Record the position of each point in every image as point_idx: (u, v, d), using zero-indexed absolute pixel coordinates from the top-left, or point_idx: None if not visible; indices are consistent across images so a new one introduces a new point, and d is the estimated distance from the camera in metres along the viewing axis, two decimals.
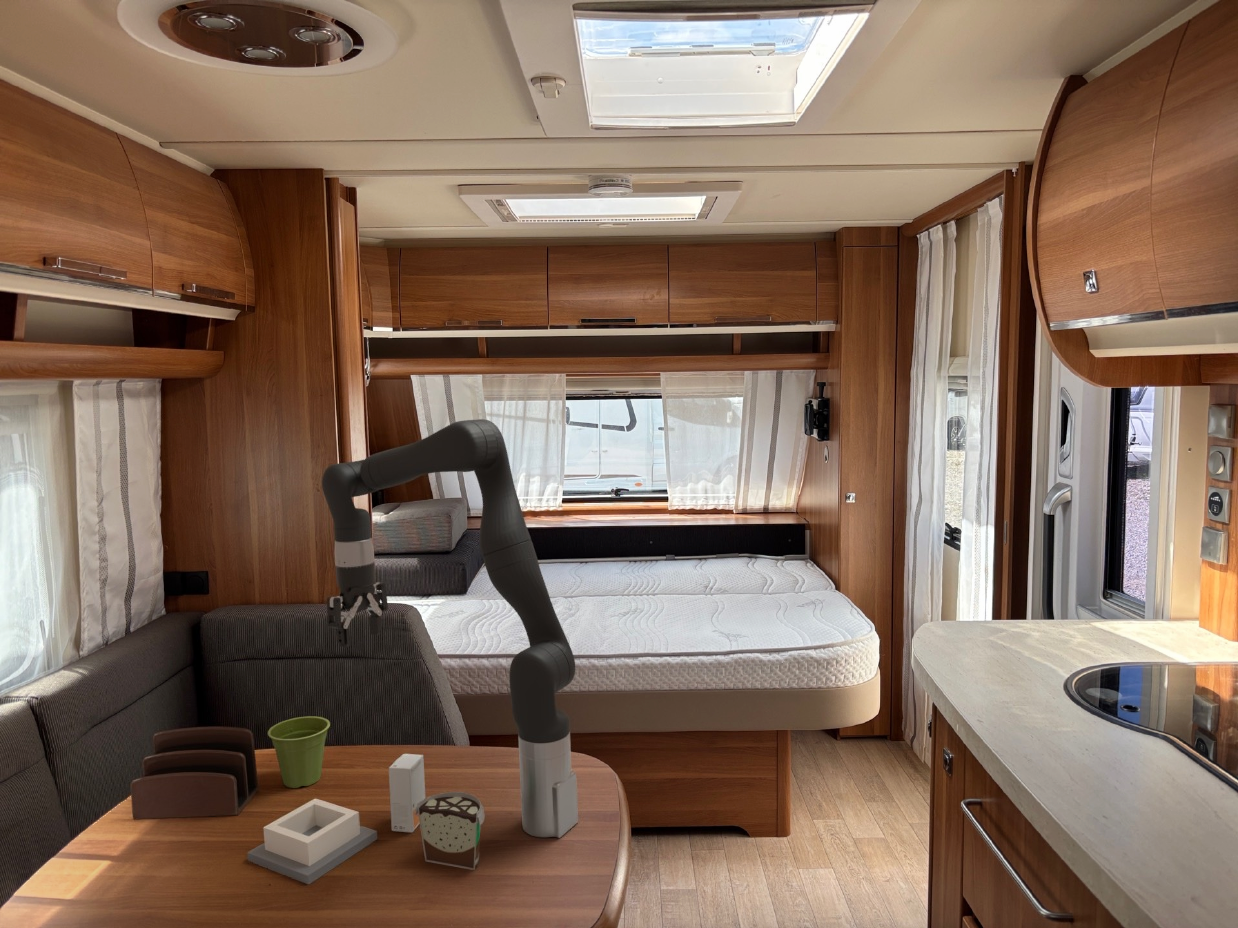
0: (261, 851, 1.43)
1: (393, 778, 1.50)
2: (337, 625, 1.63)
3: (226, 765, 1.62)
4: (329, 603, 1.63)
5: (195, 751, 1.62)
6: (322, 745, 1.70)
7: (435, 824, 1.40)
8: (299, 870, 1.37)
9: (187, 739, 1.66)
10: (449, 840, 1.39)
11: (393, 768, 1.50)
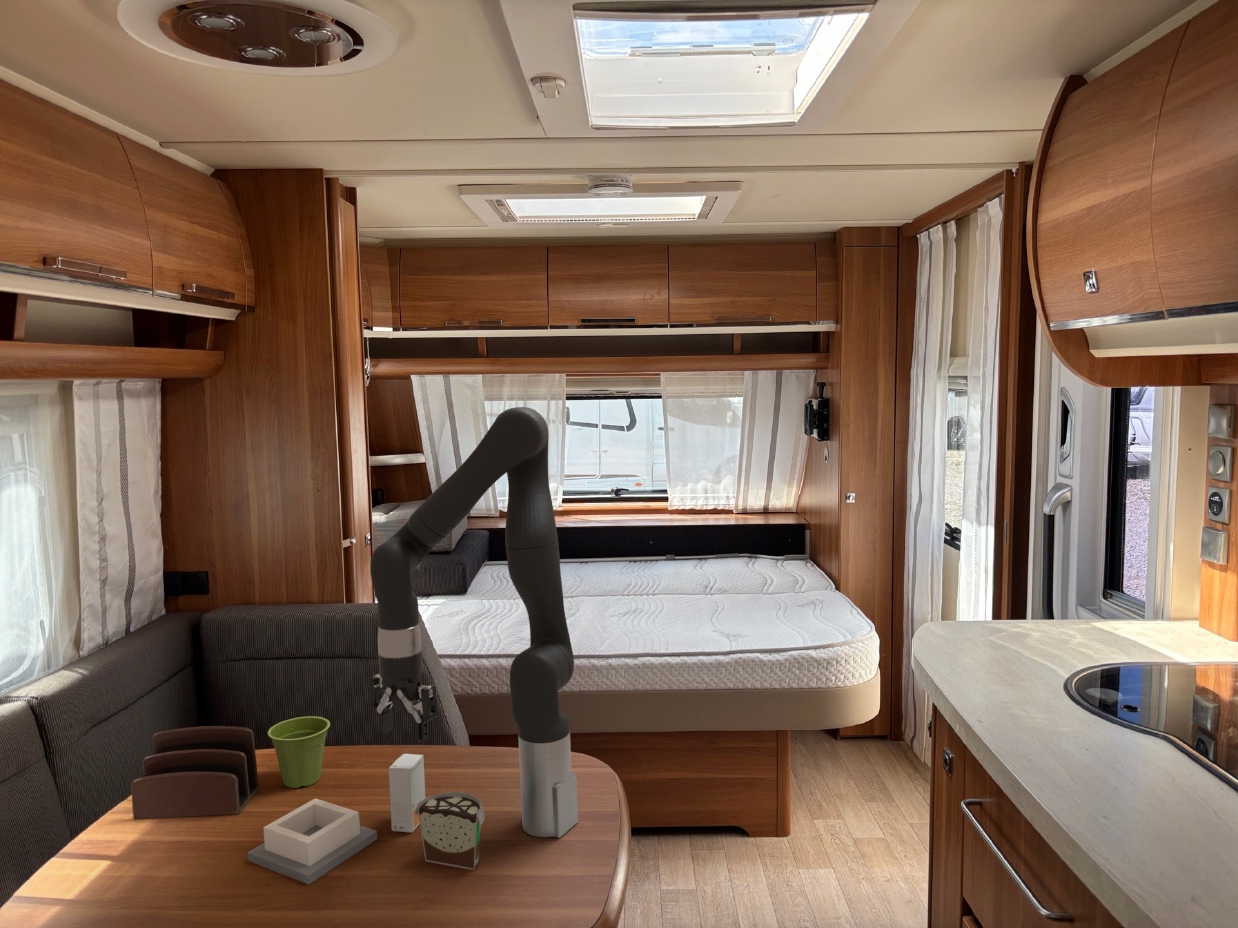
0: (261, 851, 1.43)
1: (393, 778, 1.50)
2: None
3: (227, 764, 1.62)
4: (428, 694, 1.47)
5: (196, 751, 1.62)
6: (322, 745, 1.70)
7: (435, 824, 1.40)
8: (299, 870, 1.37)
9: (187, 738, 1.66)
10: (449, 840, 1.39)
11: (393, 768, 1.50)
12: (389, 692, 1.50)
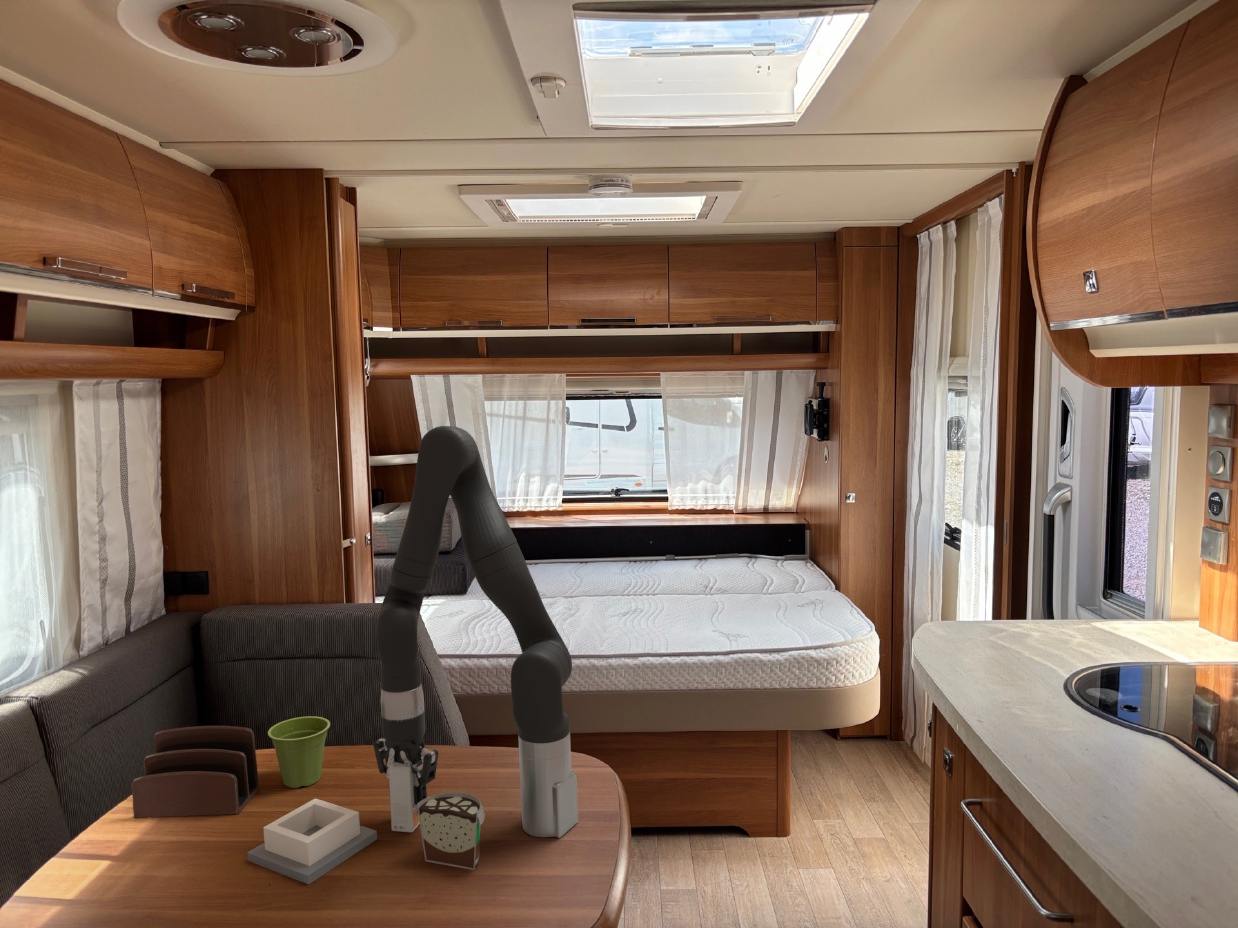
0: (261, 851, 1.43)
1: (393, 778, 1.50)
2: None
3: (227, 764, 1.62)
4: (431, 760, 1.48)
5: (196, 750, 1.62)
6: (322, 745, 1.70)
7: (435, 824, 1.40)
8: (299, 870, 1.37)
9: (188, 738, 1.66)
10: (449, 840, 1.39)
11: (393, 768, 1.50)
12: (393, 752, 1.51)
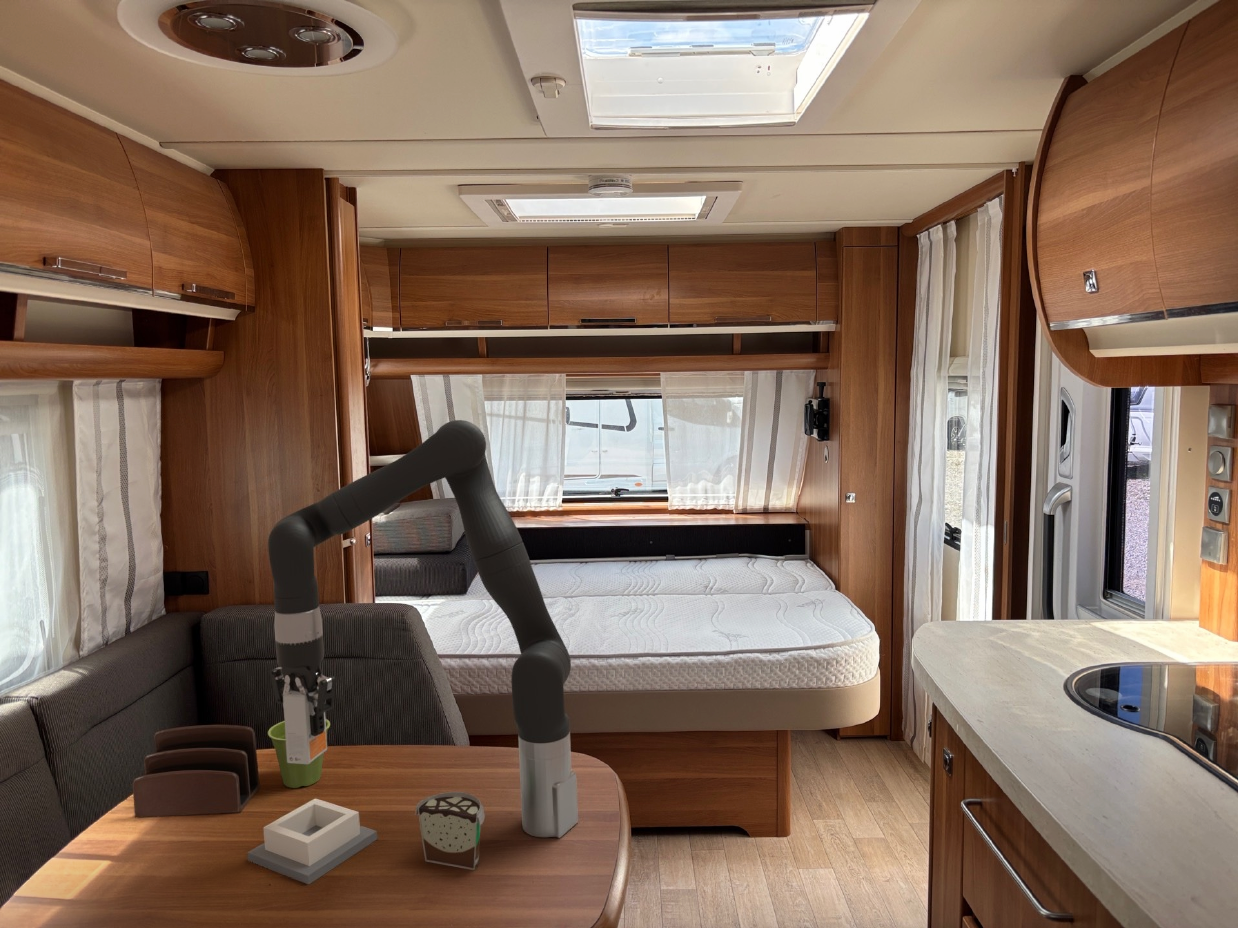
0: (261, 851, 1.43)
1: (288, 706, 1.40)
2: None
3: (228, 763, 1.63)
4: (326, 687, 1.39)
5: (197, 749, 1.62)
6: None
7: (435, 824, 1.40)
8: (299, 870, 1.37)
9: (188, 737, 1.66)
10: (449, 840, 1.39)
11: (287, 696, 1.40)
12: (288, 680, 1.41)
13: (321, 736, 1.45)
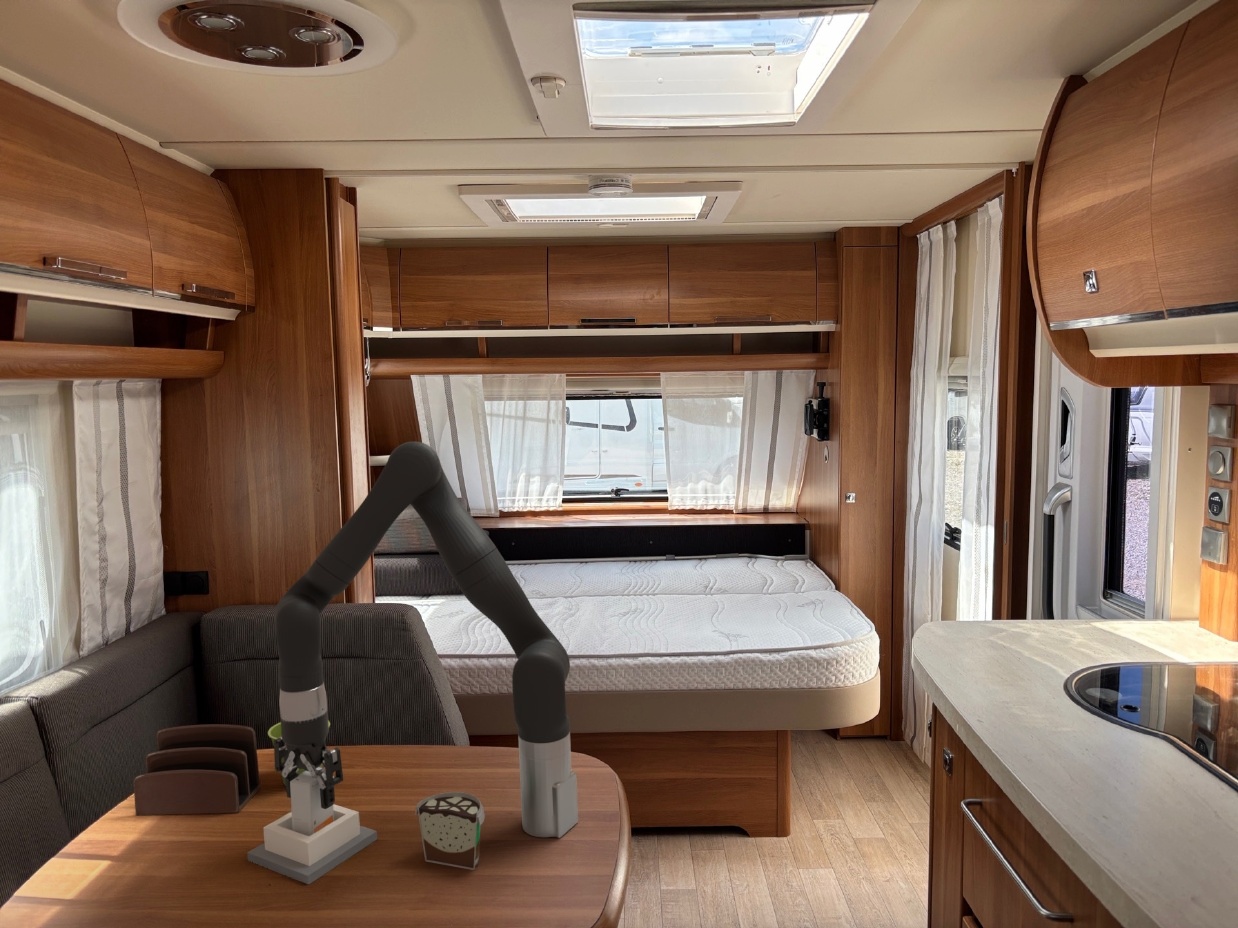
0: (261, 851, 1.43)
1: (294, 792, 1.42)
2: None
3: (228, 763, 1.63)
4: (332, 758, 1.40)
5: (197, 748, 1.63)
6: None
7: (435, 824, 1.40)
8: (299, 870, 1.37)
9: (190, 736, 1.67)
10: (449, 840, 1.39)
11: (294, 782, 1.42)
12: (293, 756, 1.43)
13: (328, 821, 1.46)
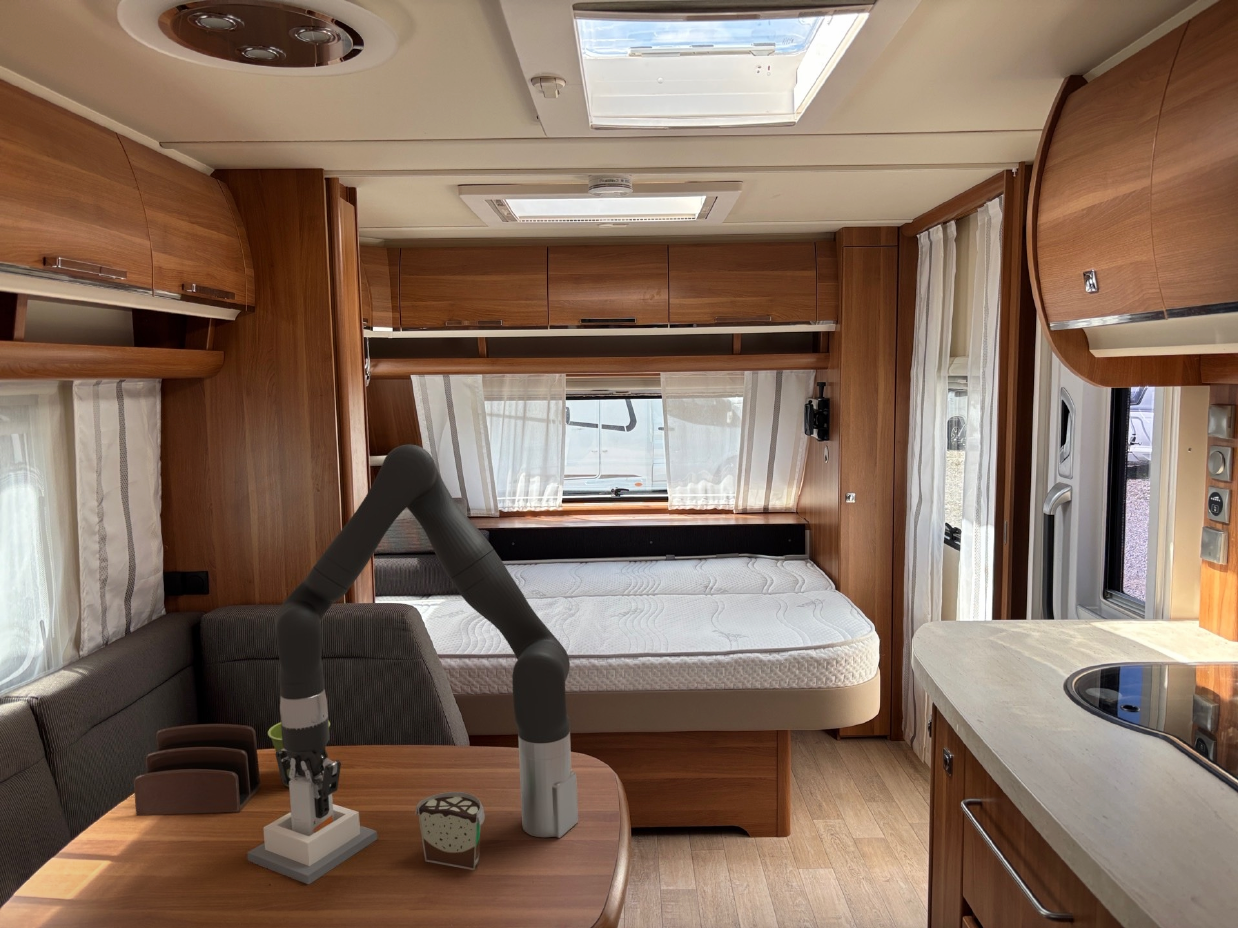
0: (261, 851, 1.43)
1: (293, 792, 1.42)
2: None
3: (228, 762, 1.63)
4: (332, 772, 1.40)
5: (198, 748, 1.63)
6: None
7: (435, 824, 1.40)
8: (299, 870, 1.37)
9: (190, 736, 1.67)
10: (449, 840, 1.39)
11: (293, 782, 1.42)
12: (294, 762, 1.43)
13: (327, 821, 1.46)
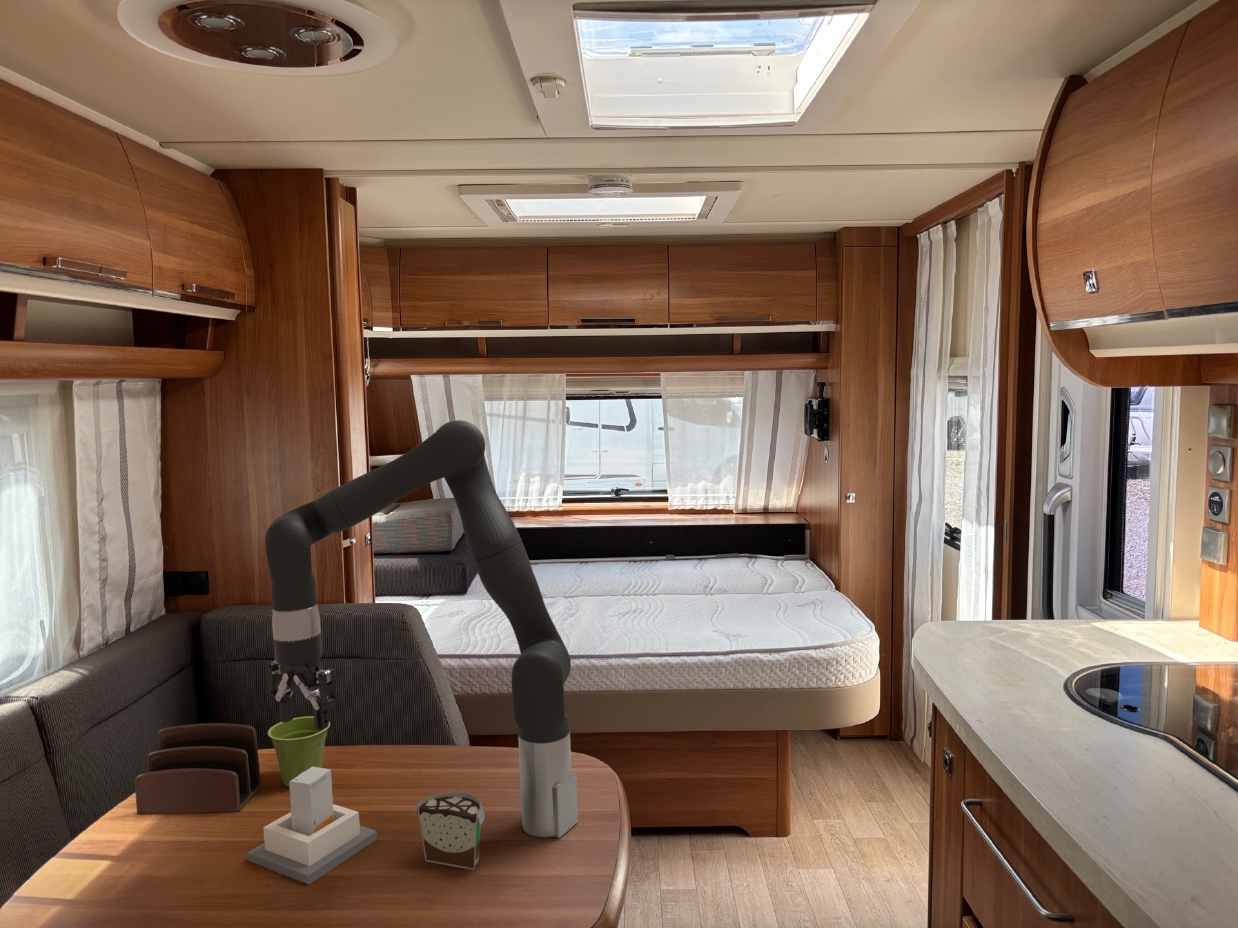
0: (261, 851, 1.43)
1: (293, 793, 1.42)
2: None
3: (229, 761, 1.63)
4: (326, 678, 1.38)
5: (198, 747, 1.63)
6: (322, 745, 1.70)
7: (435, 824, 1.40)
8: (299, 870, 1.37)
9: (191, 735, 1.67)
10: (449, 840, 1.39)
11: (293, 782, 1.42)
12: (286, 678, 1.41)
13: (327, 821, 1.46)
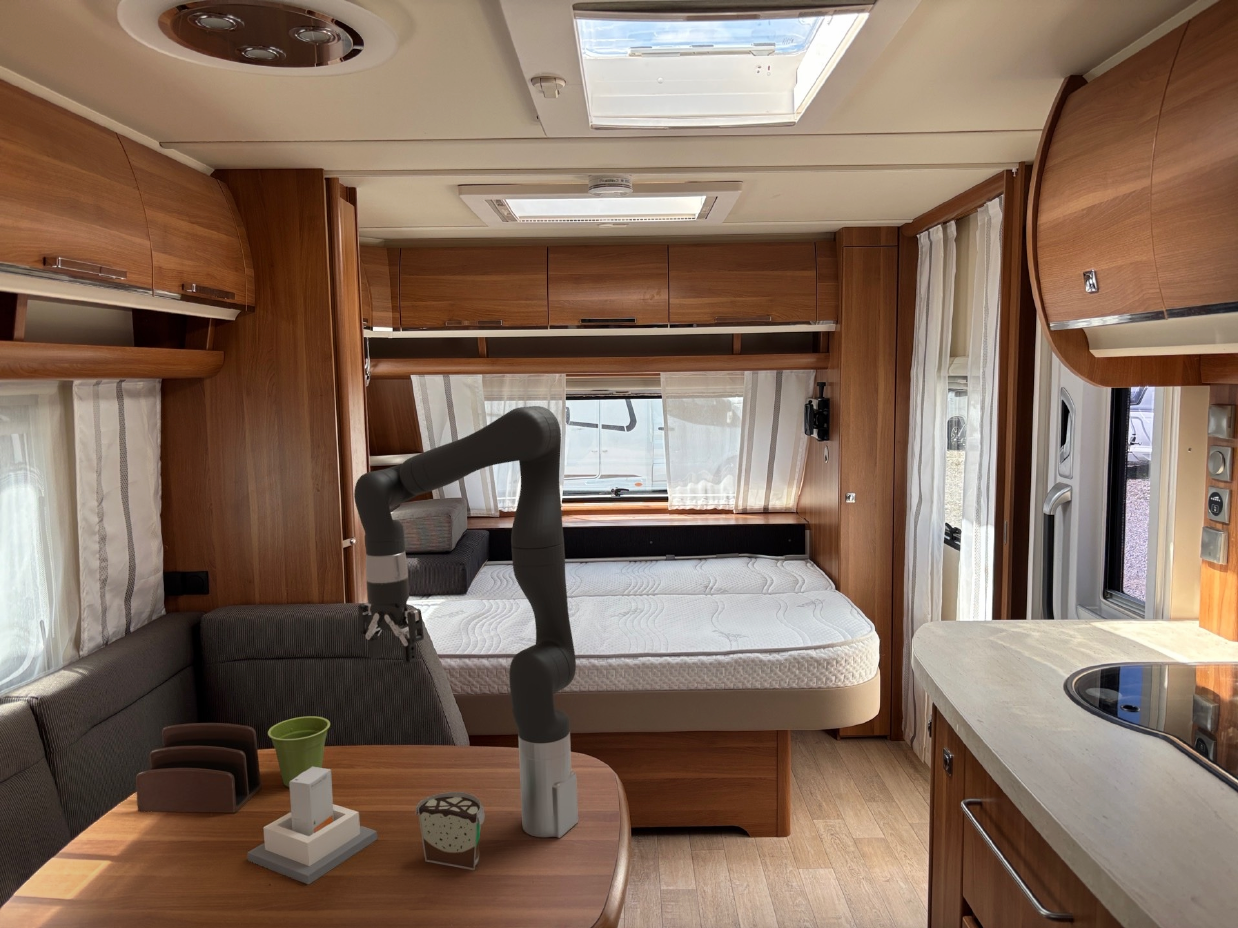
0: (261, 851, 1.43)
1: (293, 792, 1.42)
2: None
3: (227, 762, 1.63)
4: (414, 617, 1.53)
5: (198, 747, 1.63)
6: (322, 745, 1.70)
7: (435, 824, 1.40)
8: (299, 870, 1.37)
9: (194, 734, 1.68)
10: (449, 840, 1.39)
11: (293, 782, 1.42)
12: (377, 617, 1.56)
13: (327, 821, 1.46)
